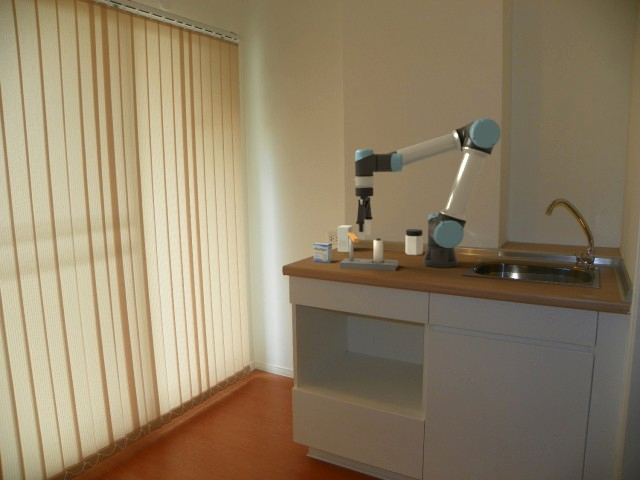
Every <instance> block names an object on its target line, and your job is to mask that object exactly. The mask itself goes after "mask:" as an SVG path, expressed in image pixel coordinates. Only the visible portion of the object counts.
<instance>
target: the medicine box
mask: <svg viewBox="0 0 640 480" xmlns="http://www.w3.org/2000/svg"><path fill="white" fill-rule="evenodd" d="M312 247H313V262H314V263H325V264H326V263H327V264H329V263H331V262H333V243H329V242H328V243H326V242H315V243H313V246H312Z"/></svg>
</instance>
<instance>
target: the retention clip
mask: <svg viewBox="0 0 640 480" xmlns="http://www.w3.org/2000/svg"><path fill="white" fill-rule="evenodd" d="M348 237H350V238H351V239H352V241H353V244H354V243H359V239H358V235H357V236H356V234H355V232H353V233H348Z"/></svg>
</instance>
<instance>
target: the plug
mask: <svg viewBox="0 0 640 480" xmlns="http://www.w3.org/2000/svg"><path fill="white" fill-rule="evenodd" d="M372 243H373V248H372V249H373V252H372V253H373V258H372V259H373V263H383V260H384V239H381V238H379V237H378V238H377V237H376V238H375V239H373V241H372Z"/></svg>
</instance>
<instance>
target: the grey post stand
mask: <svg viewBox="0 0 640 480" xmlns="http://www.w3.org/2000/svg"><path fill="white" fill-rule="evenodd" d="M348 255H349V257H345V258H343V260H341V261H340V262H339V269H347V270H348V269H349V270H350V269H351V270H366V271H367V270H369V271H371V270H372V271H390V272H391V271H393V272H395V271H396V270H397V268H398V267H399V259H383V263H373V258H354V242H353V241H352V239H351V238H350V237H349V252H348Z"/></svg>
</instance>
